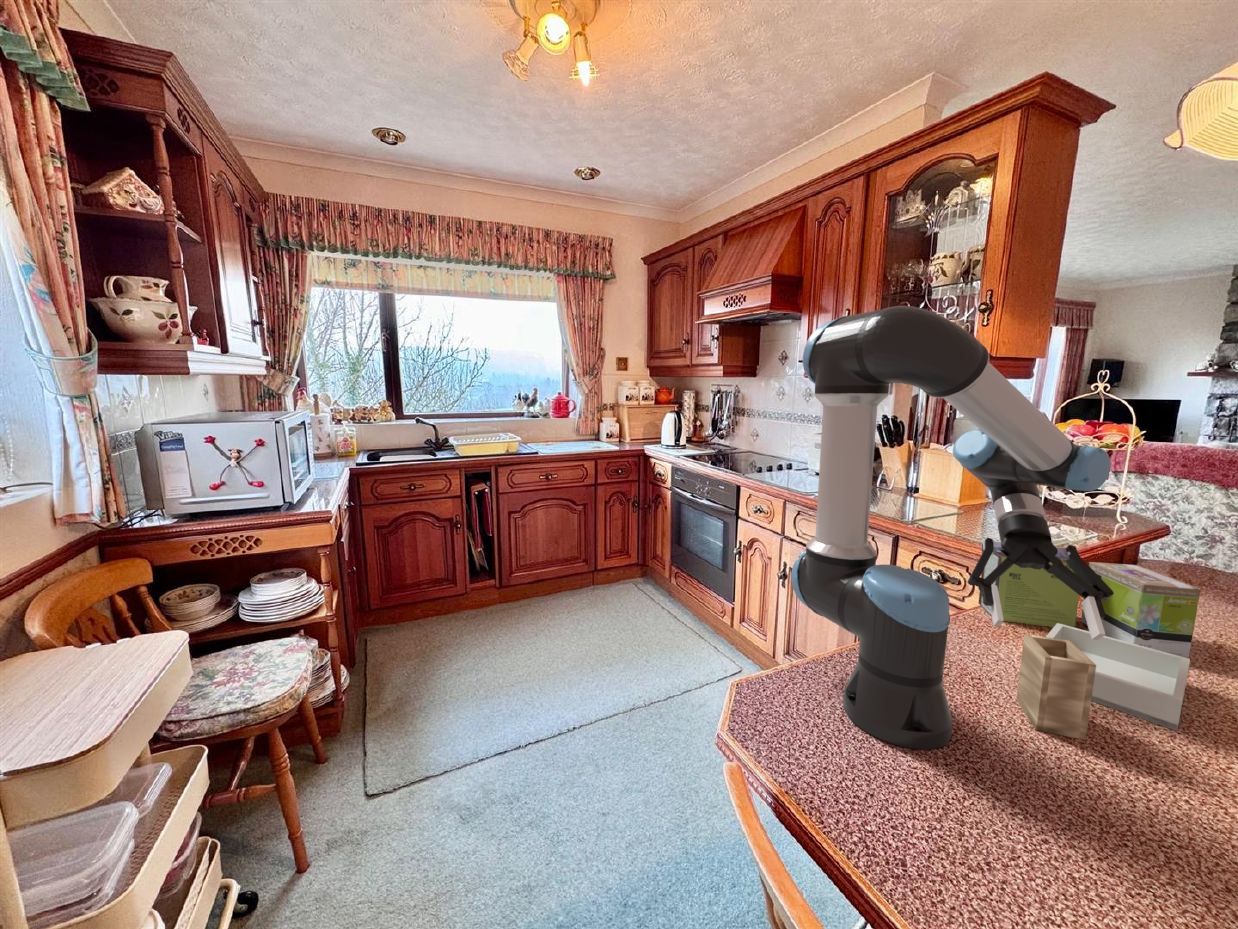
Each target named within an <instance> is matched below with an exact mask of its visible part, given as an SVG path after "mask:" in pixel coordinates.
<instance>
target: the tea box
mask: <svg viewBox="0 0 1238 929" xmlns="http://www.w3.org/2000/svg"><path fill="white" fill-rule="evenodd" d="M1088 565H1089V566H1090V568H1091V569H1092V570H1093V571H1094V572H1095V573H1096V574H1097V575H1098V576H1099V577H1100V578H1101V579H1102V580H1103V581H1104V582H1105V583H1106V584H1107V585H1108V587H1109V588H1110V589H1111V590H1112V591H1113V592H1114V594H1113V595H1112V596H1111V597H1110V598H1108V599H1107V600H1106V601H1102V605H1103V608H1104V611H1105V614H1106V615H1105V617H1104V618H1103V619H1102V620H1101V621H1102V624H1103V628H1104V631H1105V634H1106V635H1104V636H1107V637H1111V638H1114V639H1118V640H1122V641H1126V642H1129V643H1133V644H1137V645H1140V646H1144V647H1148V648H1151V649H1155V650H1159V651H1162V652H1166V653H1170V654H1174V655H1177V656H1181V657H1185V658H1188V659H1189V656H1190V652H1191V647H1192V643H1193V636H1194V631H1195V624H1196V619H1197V613H1198V606H1199V601H1200V595H1201V594H1200V593H1201V588H1200V587H1197V586H1195V585H1192V584H1189V583H1187V582H1183V581H1181V580H1179V579H1175V578H1173V577H1171V576H1168V575H1165V574H1163V573H1160V572H1157V571H1155V570H1151V569H1149V568H1145V567H1143V566H1141V565H1138V564H1137V565H1136V564H1124V563H1123V564H1122V563H1112V562H1111V563H1110V562H1096V561H1090V562H1089V561H1088ZM1083 600H1085V599H1084V598H1083ZM1080 621H1081V623H1083V624H1085V625H1086V626H1088V625H1087V621H1086V618H1085V614H1084V611H1083V609H1082V610H1081V619H1080Z"/></svg>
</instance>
